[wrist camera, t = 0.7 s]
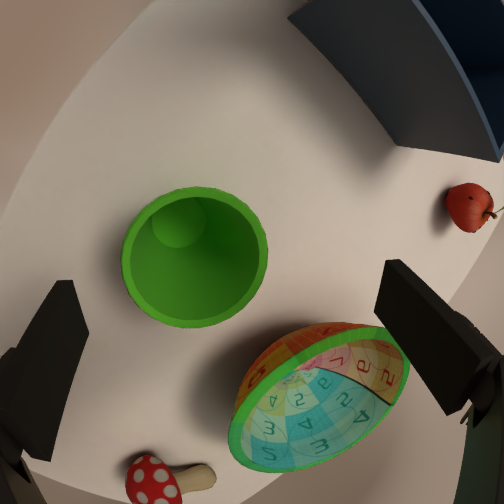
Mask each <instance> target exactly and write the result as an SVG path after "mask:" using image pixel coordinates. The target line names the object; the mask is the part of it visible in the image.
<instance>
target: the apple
mask: <svg viewBox="0 0 504 504" xmlns="http://www.w3.org/2000/svg"><path fill="white" fill-rule="evenodd" d="M445 205H446V207H447V210H448V212H449V214H450V216H451V218H452V220H453V221H454V223H455V224H456V225H457V226H458V227H459V228H460V229H461V230H463V231H465V232H468V233H471V232H473V233H475V232H476V231H477V230H478V229H480V228H481V227H482V226H483V225H484V224H485V222H486V221H488V218H489V217H490V216H492V217H493V219H496V218H497V215H496V214H494V213H493V212H492V211H493V207H494V202H493V199H492V197H491V195H490V193H489V192H488V191H486V190H485V189H484V188H482V187H481V186H479V185H477V184H474V183H465V184H462V185H458V186H455V187H452V188H451V189H450V190H449V192H448V195H447V197H446V199H445ZM502 209H504V207H503V208H502ZM502 209H500V210H502ZM500 210H499V211H500ZM497 212H498V211H497ZM497 212H495V213H497Z"/></svg>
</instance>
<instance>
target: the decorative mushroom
mask: <svg viewBox="0 0 504 504" xmlns="http://www.w3.org/2000/svg"><path fill="white" fill-rule="evenodd" d="M216 479H217V478H216V474H215V472H214V470H213V469H212V468H211V467H209V466H205V465H197V466H194V467H191V468H189V469H187V470H185V471H183V472H180V473H173V474H172V472H171V471H170V469H169V468H168V467H167V466H166V465H165V464H164V463H163V462H162V461H161V460H160V459H158V458H156V457H154V456H151V455H144V456H142V457H140V458H138V459H136V460H135V461H134V462H133V463H132V464H131V465H130V467H129V469H128V472H127V474H126V480H125V487H126V493H127V495H128V497H129V499H130V501H131V502H132V504H182V497H181V495H182V494H185V493H187V492H191V491H201V490H206V489H209V488H211V487H212V486H213V485H214V484H215V482H216Z"/></svg>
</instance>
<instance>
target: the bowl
mask: <svg viewBox="0 0 504 504" xmlns="http://www.w3.org/2000/svg"><path fill="white" fill-rule="evenodd" d="M409 369H410V361H409V360H408V358H407V357H406V355H405V354H404V353H403V351H402V350H401V348H400V347H399V346H398V344H397V343H396V341H395V340H394V339H393V337H392V336H391V334H390V333H389V332H388V330H387V329H386V328H384V327H378V326H370V325H364V324H351V323H346V322H329V323H320V324H314V325H310V326H307V327H304V328H301V329H298V330H296V331H294V332H291V333H289V334H287V335H285V336H284V337H282V338H280V339H279V340H277V341H276V342H274V343H273V344H272V345H270V346H269V347H268V348H267V349H266V350H265V351H264V352H263V353H262V354H261V355H260V356H259V357H258V358H257V359H256V360H255V362H254V363H253V364H252V365H251V367H250V368H249V370H248V371H247V373H246V375H245V377H244V379H243V381H242V383H241V385H240V388H239V390H238V393H237V397H236V401H235V406H234V409H233V412H232V416H231V423H230V426H229V430H228V445H229V449H230V452H231V453H232V455H233V457H234V458H235V459H236V460H237V461H238V462H239V463H240V464H241V465H243V466H245V467H247V468H249V469H252V470H255V471H259V472H266V473H284V472H292V471H297V470H301V469H305V468H308V467H312V466H315V465H317V464H320V463H322V462H325V461H327V460H329V459H331V458H333V457H335V456H337V455H339V454H340V453H342V452H344V451H346V450H347V449H349V448H350V447H352V446H353V445H355V444H356V443H357V442H359V441H360V440H361V439H363V438H364V437H365V436H366V435H367V434H368V433H370V432H371V431H372V430H373V429H374V428H375V427H376V426H377V425H378V424H379V423H380V422H381V421H382V420H383V419H384V417H385V416H386V415H387V414H388V413H389V411H390V410H391V409H392V407H393V406H394V404H395V403H396V401H397V400H398V398H399V396H400V394H401V393H402V390H403V388H404V386H405V384H406V381H407V377H408V373H409Z"/></svg>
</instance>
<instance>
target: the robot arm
mask: <svg viewBox="0 0 504 504" xmlns="http://www.w3.org/2000/svg"><path fill="white" fill-rule="evenodd" d="M374 313H375V314H376V315H377V317H378V318H379V319H380V321H381V322H382V324H383V325H384V326H385V328H386V329H387V330H388V332H389V333H390V334H391V336H392V337H393V339H394V340H395V341H396V343H397V344H398V346H399V347H400V348H401V350H402V351H403V353H404V354H405V355H406V357H407V358H408V360H409V361H410V362H411V364H412V365H413V367H414V368H415V369H416V371H417V372H418V374H419V375H420V377H421V378H422V380H423V381H424V383H425V384H426V386H427V387H428V389H429V390H430V392H431V393H432V394H433V396H434V397H435V399H436V400H437V402H438V404H439V405H440V407H441V408H442V410H443V411H444V413H445V414H446V416H448V415H450V414H452V413H455V412H457V411H459V410H461V409H462V408H463V406H464V405H465V403H466V402H467V400H468V399H470V400H471V402H472V403H473V404H472V405H471V406H470V408H469V409H468V411H467V412H466V414H465V415H464V416H463V418H462V419H461V422H460V424H463V422H464V421H465V420H466V418H467V417H468V422H467V423H466V425H467V433H466V441H465V448H464V454H463V460H462V466H461V471H460V477H459V481H458V486H457V490H456V495H455V499H454V503H453V504H504V355H502V354H501V353H500V352H499V351H498V350H497V349H496V348H495V347H494V346H493V345H492V344H491V343H490V341H489V340H488V339H487V338H486V337H485V336H484V335H483V334H482V333H480V331H479V330H478V329H477V328H476V327H474V325H473V324H472V323H471V322H470V321H469V320H468V319H467V318H466V317H465V316H463V315H461V314H460V313H458V312H457V311H454V310H453V309H452V308H451V307H450V306H448V304H447V303H446V302H445V301H444V300H443V299H442V298H440V297H439V296H438V295H437V294H436V293H435V292H434V291H433V290H432V289H431V288H430V287H429V286H428V285H427V284H426V283H425V282H424V281H423V280H422V279H421V278H420V277H419V276H417V275H416V274H415V273H414V272H413V271H412V270H411V269H410V268H409V267H408V266H407V265H406V264H404V263H403V262H402V261H401V260H400V259H394V260H386V261H385V265H384V270H383V275H382V279H381V284H380V288H379V292H378V296H377V300H376V304H375V308H374ZM88 336H89V331H88V328H87V325H86V322H85V319H84V316H83V313H82V310H81V307H80V303H79V300H78V297H77V294H76V290H75V287H74V283H73V280H57V281H56V283H55V284H54V286H53V287H52V289H51V290H50V292H49V293H48V295H47V296H46V298H45V300H44V301H43V303H42V304H41V306H40V308H39V309H38V311H37V312H36V314H35V316H34V317H33V319H32V321H31V322H30V324H29V326H28V327H27V329H26V331H25V333H24V334H23V336H22V338H21V340H20V341H19V343H18V345H17V347H16V348H12V347H11V348H10V349H9V350H8V351H7V352H6V353H5V354H4V355H3V356H2V357H1V359H0V504H47V503H46V501H45V499H44V497H43V496H42V494H41V492H40V490H39V488H38V486H37V485H36V483H35V481H34V479H33V477H32V475H31V473H30V471H29V469H28V466H27V464H26V462H25V461H24V459H23V458H22V457H21V455H22V451H23V449H24V450H25V451H26V452H27V453H28V454H29V455H30V457H31V458H34V459H39V460H43V461H48V462H51V458H52V453H53V449H54V445H55V441H56V437H57V433H58V429H59V426H60V422H61V418H62V415H63V411H64V408H65V404H66V401H67V398H68V394H69V391H70V388H71V385H72V382H73V379H74V375H75V372H76V369H77V367H78V364H79V361H80V358H81V355H82V352H83V349H84V347H85V344H86V341H87V338H88Z"/></svg>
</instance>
